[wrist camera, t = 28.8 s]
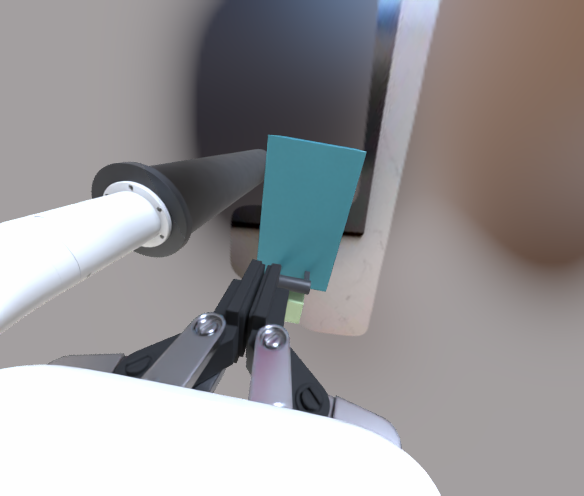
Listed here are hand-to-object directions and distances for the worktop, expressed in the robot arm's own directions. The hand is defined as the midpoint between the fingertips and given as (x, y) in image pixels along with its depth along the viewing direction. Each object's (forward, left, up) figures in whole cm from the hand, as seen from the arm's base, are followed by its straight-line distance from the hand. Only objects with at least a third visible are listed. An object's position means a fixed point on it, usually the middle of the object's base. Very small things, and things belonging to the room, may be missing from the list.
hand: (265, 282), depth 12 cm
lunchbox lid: (0, -2, -15) cm, 15 cm away
